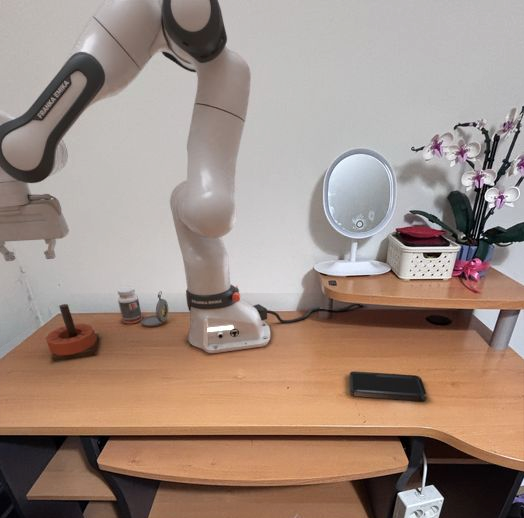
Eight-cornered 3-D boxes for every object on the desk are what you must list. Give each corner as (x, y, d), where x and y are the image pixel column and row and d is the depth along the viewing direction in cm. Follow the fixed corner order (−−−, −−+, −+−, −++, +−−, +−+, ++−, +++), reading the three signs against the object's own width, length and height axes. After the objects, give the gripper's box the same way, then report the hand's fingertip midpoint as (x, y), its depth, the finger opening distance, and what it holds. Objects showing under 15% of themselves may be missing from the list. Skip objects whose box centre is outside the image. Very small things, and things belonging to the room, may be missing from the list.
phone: (427, 397, 75) (350, 391, 78) (426, 401, 76) (350, 395, 78) (420, 375, 82) (349, 370, 84) (419, 379, 82) (349, 374, 85)
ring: (101, 333, 104) (98, 322, 103) (88, 353, 94) (84, 342, 93) (59, 335, 104) (56, 325, 102) (42, 356, 94) (38, 345, 92)
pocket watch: (140, 320, 114) (133, 289, 109) (168, 315, 117) (163, 284, 112) (144, 331, 107) (137, 299, 102) (173, 325, 110) (168, 293, 105)
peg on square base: (99, 337, 105) (87, 295, 99) (95, 355, 97) (82, 310, 90) (60, 343, 103) (45, 301, 96) (53, 361, 94) (37, 316, 88)
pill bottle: (146, 319, 115) (139, 288, 110) (129, 325, 111) (122, 294, 106) (135, 314, 118) (129, 284, 113) (119, 320, 114) (111, 289, 109)
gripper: (62, 191, 83) (80, 253, 90) (-30, 196, 83) (-5, 257, 90) (49, 195, 78) (69, 261, 85) (-49, 200, 78) (-21, 265, 85)
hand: (31, 259), depth 88 cm, fingers open, 8 cm apart
